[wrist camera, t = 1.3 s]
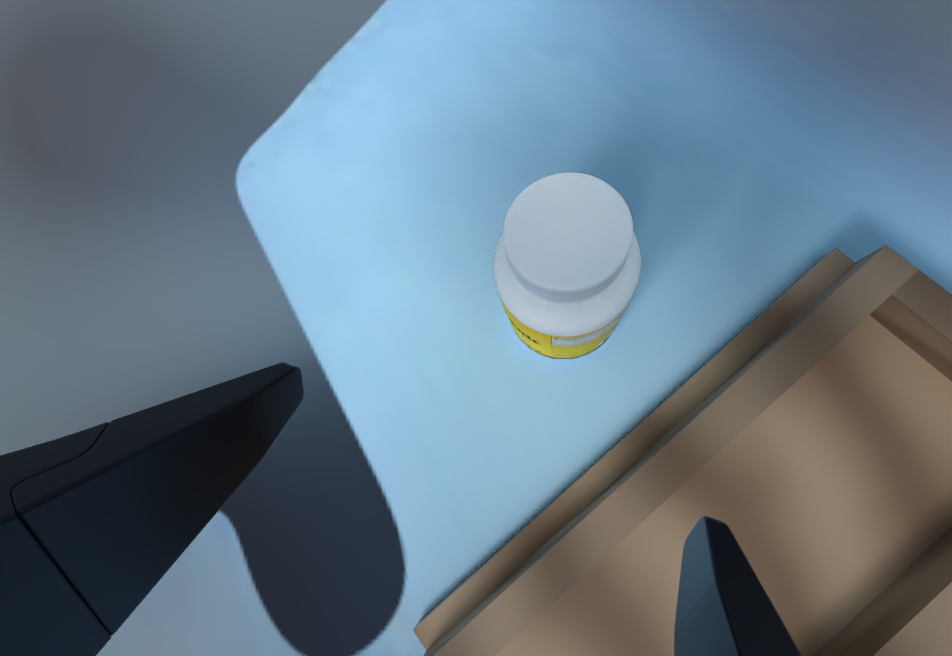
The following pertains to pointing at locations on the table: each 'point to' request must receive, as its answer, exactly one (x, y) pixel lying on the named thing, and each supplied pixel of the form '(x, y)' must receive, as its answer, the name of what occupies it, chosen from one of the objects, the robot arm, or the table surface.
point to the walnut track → (757, 489)
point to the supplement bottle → (566, 264)
